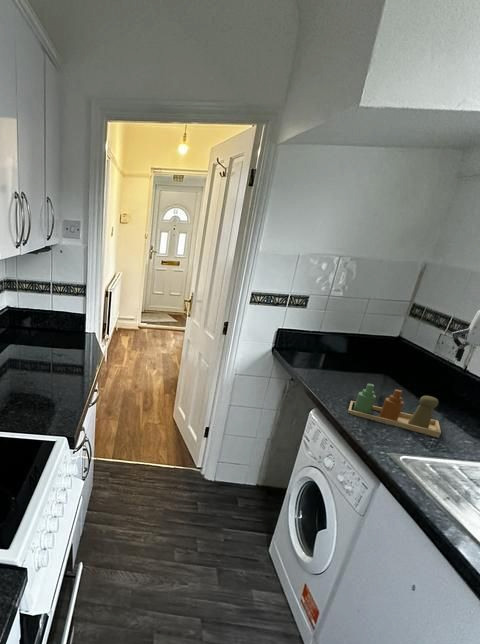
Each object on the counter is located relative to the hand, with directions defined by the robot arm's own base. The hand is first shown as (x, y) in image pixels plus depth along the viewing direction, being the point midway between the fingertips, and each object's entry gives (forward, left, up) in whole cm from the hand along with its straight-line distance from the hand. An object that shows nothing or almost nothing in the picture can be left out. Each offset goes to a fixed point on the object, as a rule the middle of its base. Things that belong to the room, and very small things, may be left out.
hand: (477, 363), depth 128 cm
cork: (+7, -6, -26) cm, 28 cm away
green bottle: (+25, -6, -26) cm, 37 cm away
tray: (+15, -6, -27) cm, 32 cm away
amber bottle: (+16, -6, -26) cm, 32 cm away
